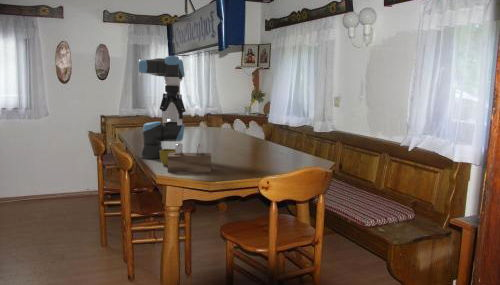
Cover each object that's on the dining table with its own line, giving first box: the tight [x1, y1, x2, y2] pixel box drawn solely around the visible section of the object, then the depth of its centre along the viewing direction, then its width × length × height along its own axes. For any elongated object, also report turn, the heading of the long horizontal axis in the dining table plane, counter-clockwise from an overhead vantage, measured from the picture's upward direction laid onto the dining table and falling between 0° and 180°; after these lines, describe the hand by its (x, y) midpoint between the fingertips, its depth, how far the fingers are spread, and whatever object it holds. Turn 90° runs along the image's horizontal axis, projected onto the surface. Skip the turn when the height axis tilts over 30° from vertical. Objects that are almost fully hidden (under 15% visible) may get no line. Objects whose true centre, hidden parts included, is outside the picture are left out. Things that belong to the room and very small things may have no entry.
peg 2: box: [196, 143, 205, 155], centre depth 238 cm, size 4×4×9 cm
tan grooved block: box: [167, 152, 212, 173], centre depth 238 cm, size 12×24×9 cm, turn 97°
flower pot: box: [159, 148, 175, 166], centre depth 252 cm, size 9×9×9 cm
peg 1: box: [174, 143, 184, 155], centre depth 236 cm, size 4×4×9 cm
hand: (172, 124), depth 229 cm, fingers open, 13 cm apart
